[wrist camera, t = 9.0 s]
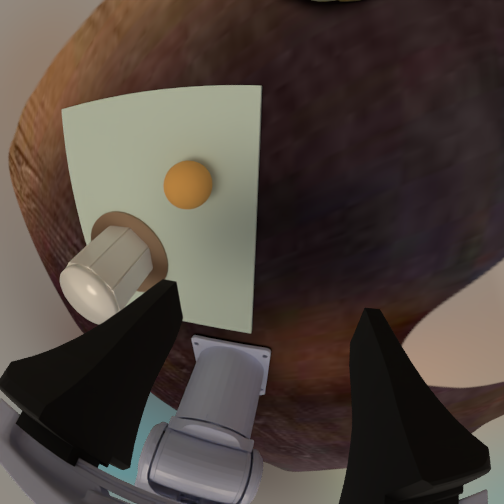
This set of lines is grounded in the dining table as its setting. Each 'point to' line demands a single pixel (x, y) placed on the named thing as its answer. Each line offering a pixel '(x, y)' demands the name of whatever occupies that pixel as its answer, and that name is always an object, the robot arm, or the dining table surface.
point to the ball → (187, 185)
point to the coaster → (146, 235)
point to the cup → (106, 273)
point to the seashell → (334, 0)
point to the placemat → (152, 191)
